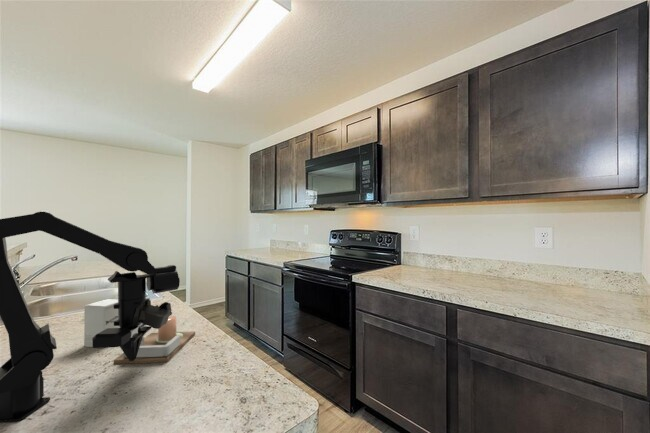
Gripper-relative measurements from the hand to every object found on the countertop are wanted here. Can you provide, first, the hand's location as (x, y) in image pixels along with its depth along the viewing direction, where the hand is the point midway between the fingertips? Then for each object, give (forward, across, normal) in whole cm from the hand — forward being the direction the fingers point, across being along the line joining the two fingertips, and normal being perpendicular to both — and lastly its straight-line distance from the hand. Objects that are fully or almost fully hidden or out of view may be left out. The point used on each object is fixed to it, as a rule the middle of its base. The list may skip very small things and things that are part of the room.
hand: (132, 360), depth 70 cm
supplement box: (+3, +19, +20) cm, 28 cm away
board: (+3, +14, +1) cm, 14 cm away
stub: (+2, +18, +1) cm, 19 cm away
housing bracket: (+2, +9, 0) cm, 9 cm away
